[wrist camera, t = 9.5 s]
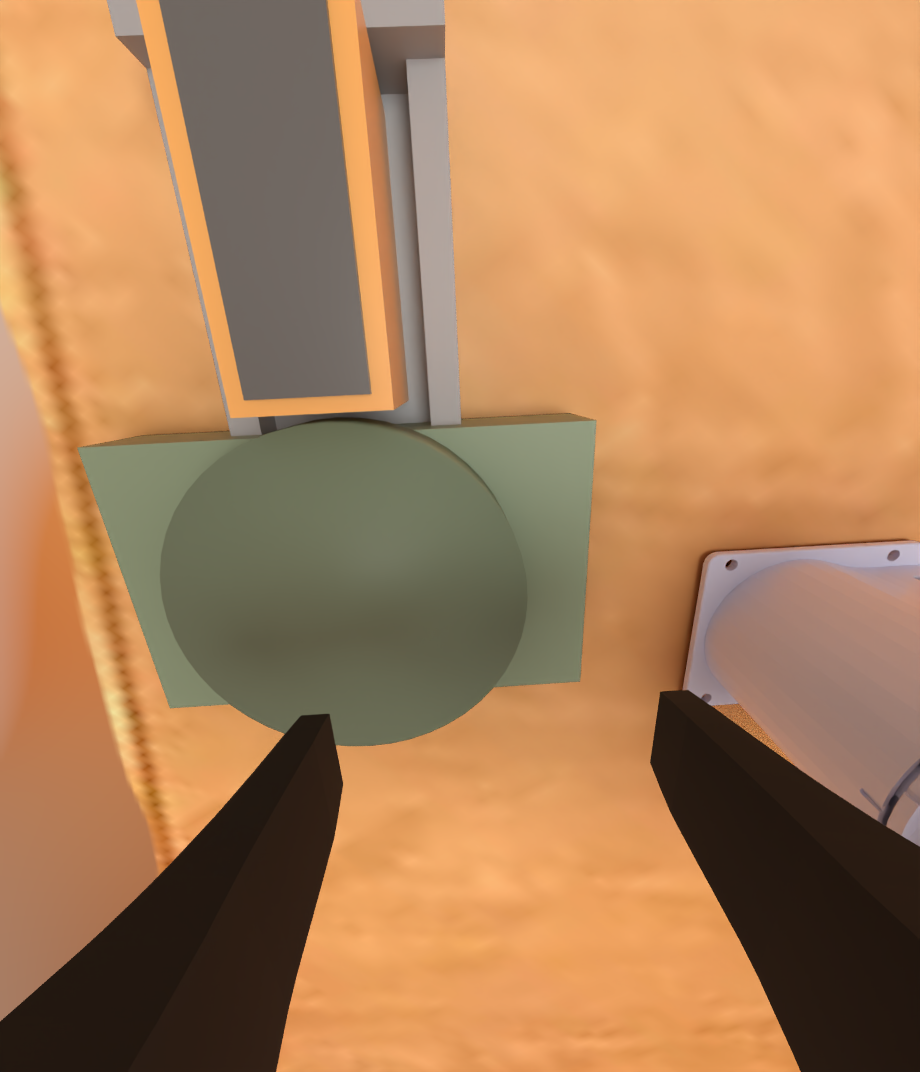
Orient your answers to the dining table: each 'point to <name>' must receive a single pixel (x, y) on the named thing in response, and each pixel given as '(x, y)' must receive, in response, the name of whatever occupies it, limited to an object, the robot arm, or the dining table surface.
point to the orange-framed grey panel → (284, 198)
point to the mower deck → (361, 497)
